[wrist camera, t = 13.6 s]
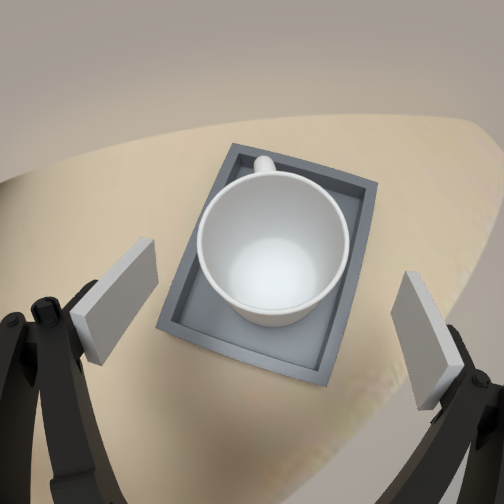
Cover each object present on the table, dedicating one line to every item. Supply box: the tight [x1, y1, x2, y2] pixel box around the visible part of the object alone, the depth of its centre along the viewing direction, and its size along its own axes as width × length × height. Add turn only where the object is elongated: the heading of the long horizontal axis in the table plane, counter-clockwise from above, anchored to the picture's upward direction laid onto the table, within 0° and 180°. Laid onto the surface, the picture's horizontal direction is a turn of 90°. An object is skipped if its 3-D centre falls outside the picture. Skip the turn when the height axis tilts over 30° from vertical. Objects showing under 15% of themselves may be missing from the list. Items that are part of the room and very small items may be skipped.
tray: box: [155, 143, 378, 387], centre depth 26 cm, size 14×18×3 cm
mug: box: [197, 156, 349, 327], centre depth 22 cm, size 12×8×10 cm
